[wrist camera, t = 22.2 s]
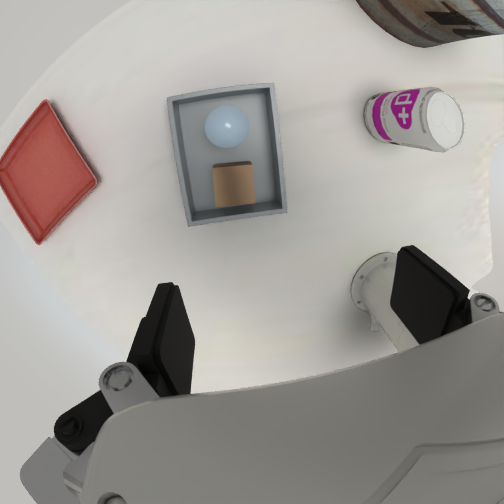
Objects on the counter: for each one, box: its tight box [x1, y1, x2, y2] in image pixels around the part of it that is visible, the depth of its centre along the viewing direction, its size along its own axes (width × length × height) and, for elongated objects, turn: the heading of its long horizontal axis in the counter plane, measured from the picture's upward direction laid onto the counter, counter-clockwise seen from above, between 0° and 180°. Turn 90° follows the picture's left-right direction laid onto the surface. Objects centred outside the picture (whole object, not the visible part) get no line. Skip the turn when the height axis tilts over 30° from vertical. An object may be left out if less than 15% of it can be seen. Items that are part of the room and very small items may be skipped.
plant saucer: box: [0, 99, 98, 245], centre depth 33 cm, size 18×18×3 cm
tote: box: [167, 83, 287, 227], centre depth 34 cm, size 17×13×5 cm
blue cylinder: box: [205, 106, 249, 148], centre depth 31 cm, size 5×5×7 cm
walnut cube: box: [212, 161, 255, 207], centre depth 35 cm, size 5×5×5 cm
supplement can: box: [365, 87, 465, 152], centre depth 29 cm, size 8×8×15 cm
